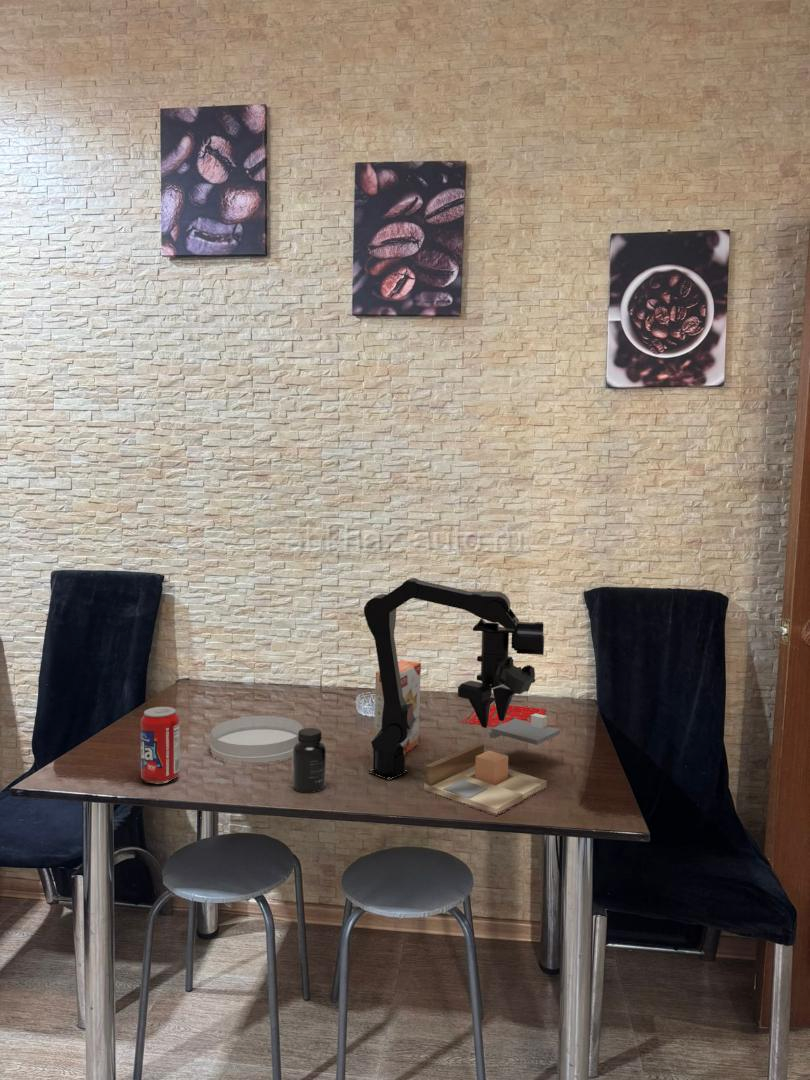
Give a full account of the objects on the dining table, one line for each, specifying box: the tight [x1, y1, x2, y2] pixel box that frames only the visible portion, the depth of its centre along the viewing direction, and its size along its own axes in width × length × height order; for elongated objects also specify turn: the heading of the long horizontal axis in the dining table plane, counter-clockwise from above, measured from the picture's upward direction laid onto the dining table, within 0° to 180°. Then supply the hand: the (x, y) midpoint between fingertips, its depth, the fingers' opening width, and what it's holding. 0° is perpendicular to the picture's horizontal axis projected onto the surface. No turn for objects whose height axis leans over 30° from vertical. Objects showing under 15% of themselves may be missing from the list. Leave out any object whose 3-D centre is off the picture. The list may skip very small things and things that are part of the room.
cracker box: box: [373, 660, 422, 755], centre depth 179 cm, size 14×6×21 cm, turn 155°
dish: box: [209, 715, 304, 762], centre depth 181 cm, size 22×22×5 cm
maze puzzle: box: [460, 703, 547, 728], centre depth 210 cm, size 20×20×1 cm
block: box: [475, 750, 509, 785], centre depth 162 cm, size 5×5×6 cm
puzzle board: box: [423, 742, 548, 814], centre depth 159 cm, size 18×19×6 cm
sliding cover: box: [489, 713, 561, 746], centre depth 174 cm, size 13×10×5 cm
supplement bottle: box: [292, 727, 327, 793], centre depth 158 cm, size 7×7×12 cm
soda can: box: [140, 706, 181, 781], centre depth 161 cm, size 8×8×15 cm
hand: (493, 723), depth 161 cm, fingers open, 6 cm apart
